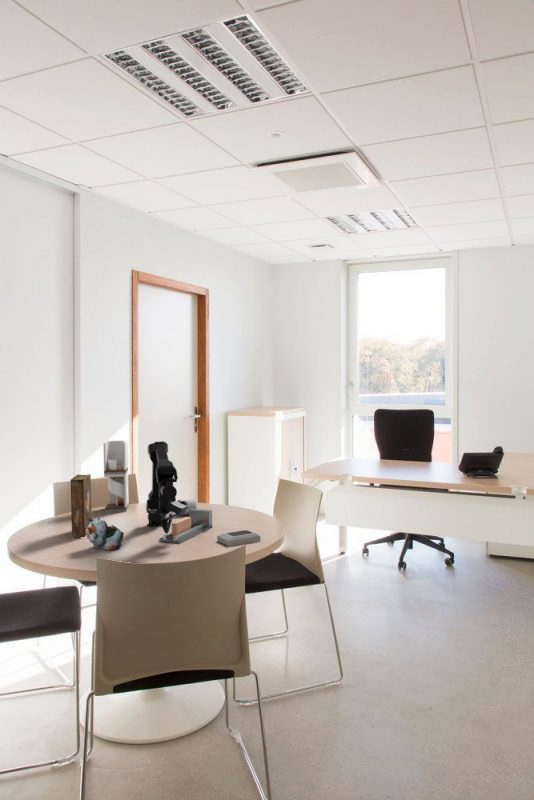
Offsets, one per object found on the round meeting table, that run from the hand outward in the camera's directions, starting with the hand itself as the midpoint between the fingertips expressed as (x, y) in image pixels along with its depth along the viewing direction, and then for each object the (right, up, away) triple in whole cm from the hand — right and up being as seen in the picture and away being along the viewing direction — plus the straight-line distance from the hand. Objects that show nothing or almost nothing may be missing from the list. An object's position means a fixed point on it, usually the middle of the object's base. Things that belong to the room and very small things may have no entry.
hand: (166, 533), depth 257 cm
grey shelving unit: (-36, -2, +68) cm, 77 cm away
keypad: (+29, -5, +3) cm, 30 cm away
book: (-40, -4, +18) cm, 44 cm away
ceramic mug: (0, -2, +55) cm, 55 cm away
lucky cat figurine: (-24, -5, -5) cm, 25 cm away
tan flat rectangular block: (+5, -3, +11) cm, 12 cm away
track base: (+6, -4, +15) cm, 16 cm away
